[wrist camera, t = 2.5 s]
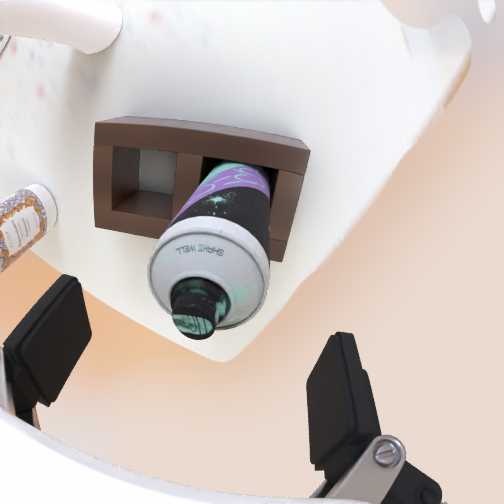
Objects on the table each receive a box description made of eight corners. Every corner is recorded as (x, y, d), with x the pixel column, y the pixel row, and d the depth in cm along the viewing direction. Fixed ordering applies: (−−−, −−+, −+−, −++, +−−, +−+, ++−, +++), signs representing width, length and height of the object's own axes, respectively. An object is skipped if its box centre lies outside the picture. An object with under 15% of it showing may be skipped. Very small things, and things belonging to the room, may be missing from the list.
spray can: (280, 184, 28) (298, 340, 10) (236, 215, 29) (193, 383, 12) (246, 139, 26) (196, 227, 8) (202, 173, 27) (98, 305, 10)
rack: (126, 116, 25) (94, 122, 19) (302, 140, 25) (310, 150, 20) (121, 204, 29) (94, 227, 24) (280, 232, 30) (281, 262, 25)
